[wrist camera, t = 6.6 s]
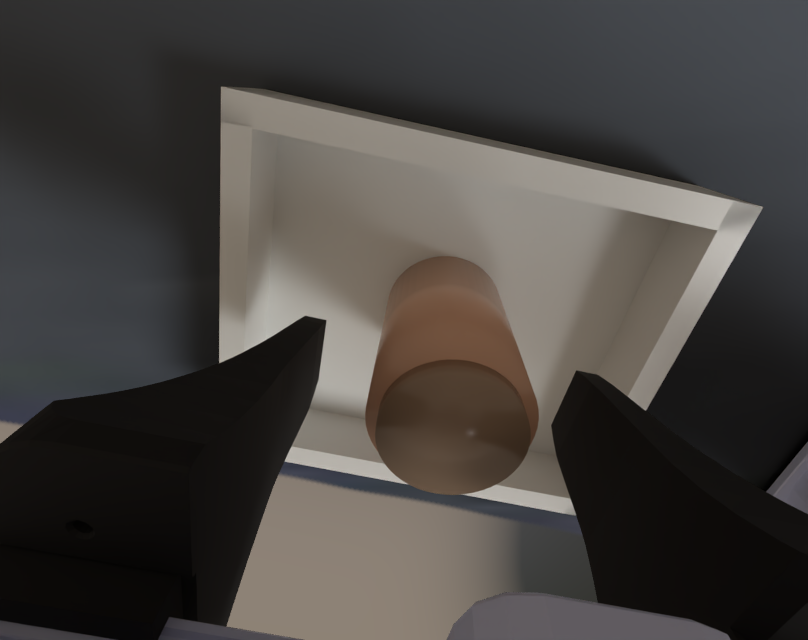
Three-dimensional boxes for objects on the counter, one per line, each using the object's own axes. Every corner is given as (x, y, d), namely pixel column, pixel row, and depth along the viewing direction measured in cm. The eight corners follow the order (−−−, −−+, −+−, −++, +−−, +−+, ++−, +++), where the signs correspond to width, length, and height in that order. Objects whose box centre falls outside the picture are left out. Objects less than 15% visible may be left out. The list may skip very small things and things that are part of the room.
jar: (519, 276, 15) (578, 394, 9) (475, 370, 17) (500, 520, 11) (406, 240, 14) (390, 338, 9) (374, 340, 16) (342, 478, 10)
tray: (699, 186, 14) (763, 206, 11) (563, 459, 19) (584, 517, 17) (262, 88, 13) (221, 86, 11) (248, 399, 19) (218, 449, 16)
